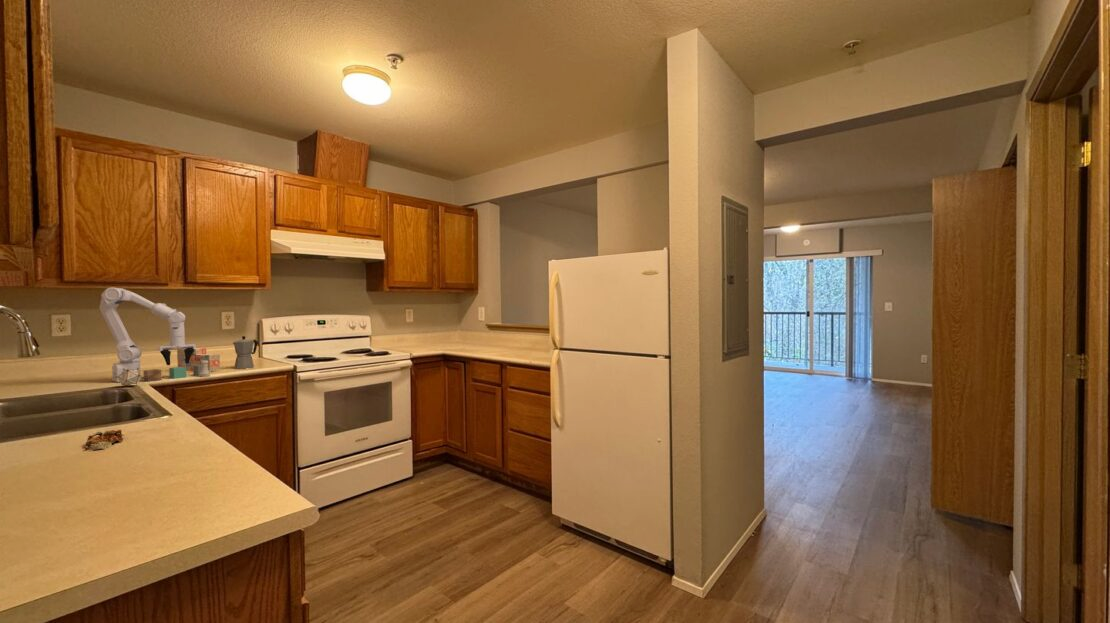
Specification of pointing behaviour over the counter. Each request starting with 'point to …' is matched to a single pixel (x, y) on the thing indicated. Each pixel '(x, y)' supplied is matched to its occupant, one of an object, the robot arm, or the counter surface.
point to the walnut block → (152, 375)
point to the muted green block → (177, 372)
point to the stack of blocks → (198, 359)
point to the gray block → (198, 369)
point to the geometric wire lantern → (130, 377)
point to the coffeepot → (244, 353)
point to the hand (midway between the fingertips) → (177, 364)
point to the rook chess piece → (204, 369)
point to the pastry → (103, 440)
